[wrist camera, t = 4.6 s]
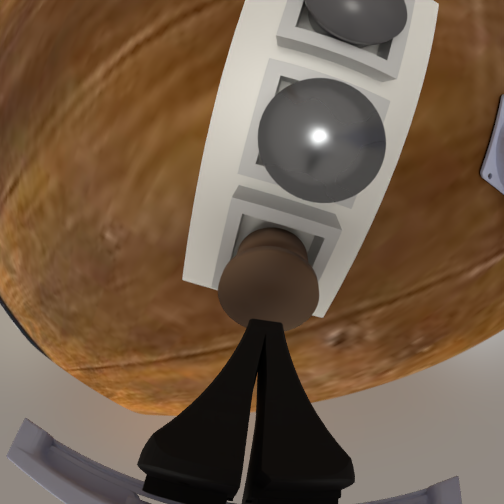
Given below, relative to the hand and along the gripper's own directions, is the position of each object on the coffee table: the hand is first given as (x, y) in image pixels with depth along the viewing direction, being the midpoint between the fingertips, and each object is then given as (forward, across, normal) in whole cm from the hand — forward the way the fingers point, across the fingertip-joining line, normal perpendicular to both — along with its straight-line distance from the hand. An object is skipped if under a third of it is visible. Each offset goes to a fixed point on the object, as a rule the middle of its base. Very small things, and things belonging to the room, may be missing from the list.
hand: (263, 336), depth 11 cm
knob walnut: (+6, 0, 0) cm, 6 cm away
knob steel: (+6, -1, -8) cm, 10 cm away
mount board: (+10, -1, -8) cm, 13 cm away
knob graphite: (+9, -2, -16) cm, 18 cm away
